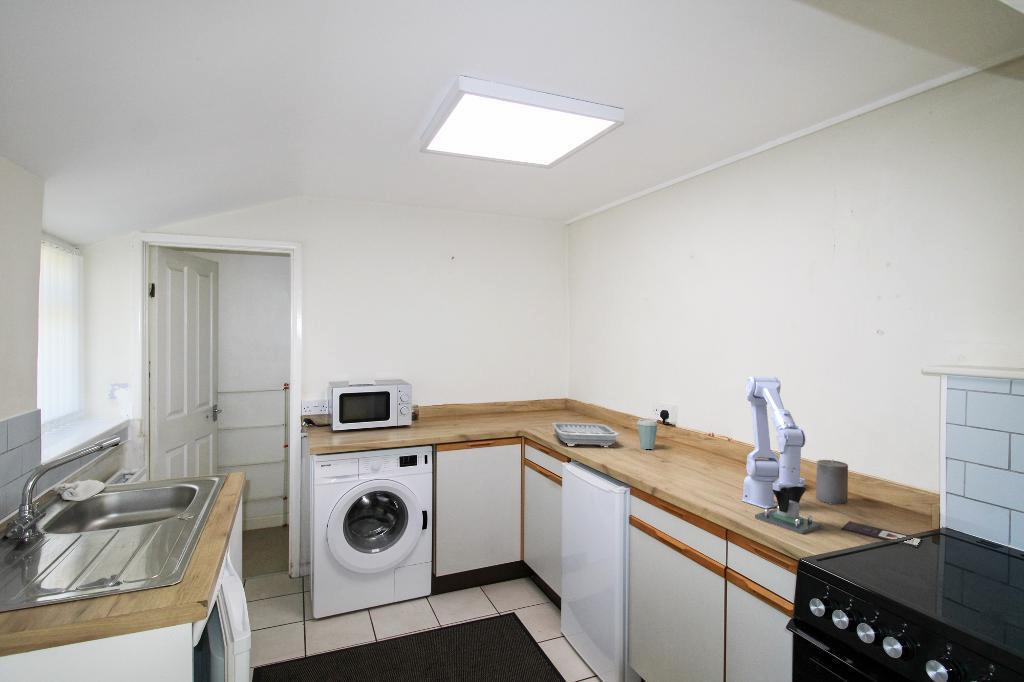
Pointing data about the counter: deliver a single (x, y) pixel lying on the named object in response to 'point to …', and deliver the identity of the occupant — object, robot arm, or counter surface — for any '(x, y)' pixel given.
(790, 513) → the green base grey block
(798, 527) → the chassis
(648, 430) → the disposable coffee cup
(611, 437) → the dish rack
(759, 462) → the robot arm
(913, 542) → the chocolate bar
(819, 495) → the pillar candle
